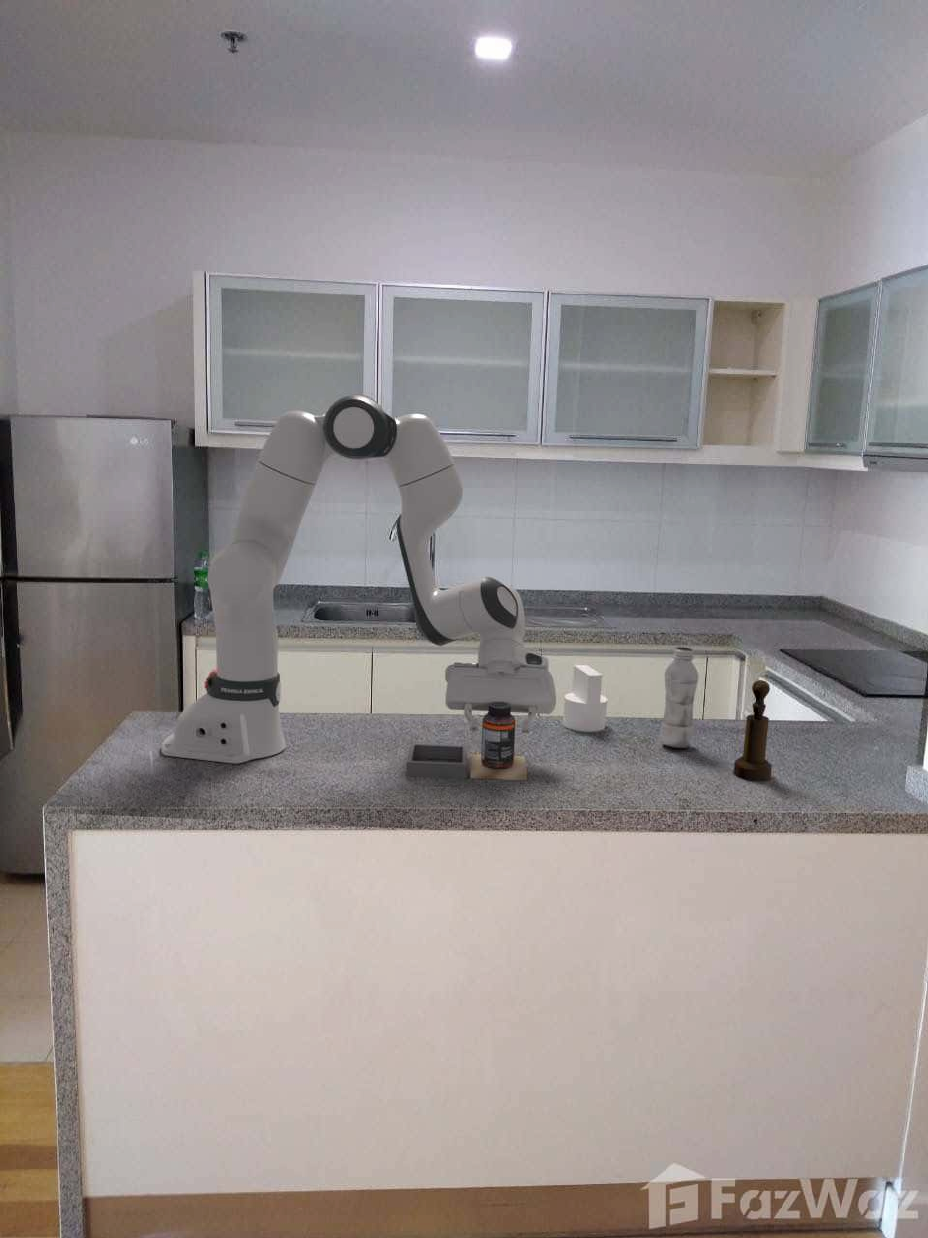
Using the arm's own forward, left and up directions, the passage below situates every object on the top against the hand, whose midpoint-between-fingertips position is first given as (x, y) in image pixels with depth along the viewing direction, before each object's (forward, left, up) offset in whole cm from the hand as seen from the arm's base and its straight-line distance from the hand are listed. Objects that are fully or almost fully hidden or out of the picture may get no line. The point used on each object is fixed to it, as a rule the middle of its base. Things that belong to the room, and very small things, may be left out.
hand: (499, 730), depth 172 cm
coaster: (0, +1, -8) cm, 8 cm away
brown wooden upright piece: (+47, +4, -8) cm, 48 cm away
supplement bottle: (0, +1, -7) cm, 7 cm away
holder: (-11, +1, -8) cm, 13 cm away
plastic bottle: (+36, +19, -8) cm, 41 cm away
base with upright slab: (+19, +31, -8) cm, 37 cm away
